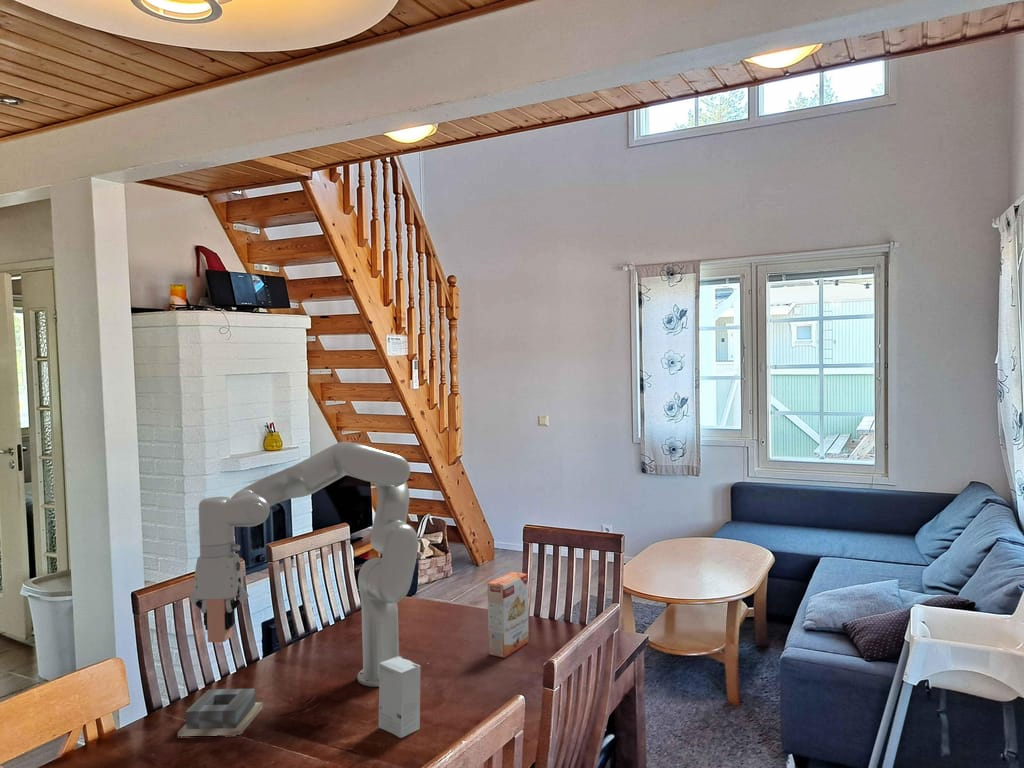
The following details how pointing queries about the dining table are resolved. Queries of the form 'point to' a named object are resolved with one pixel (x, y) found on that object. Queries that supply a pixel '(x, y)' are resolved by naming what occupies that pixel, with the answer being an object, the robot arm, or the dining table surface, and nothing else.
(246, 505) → the robot arm
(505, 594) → the cracker box
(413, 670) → the skincare box
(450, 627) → the dining table surface
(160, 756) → the dining table surface
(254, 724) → the dining table surface
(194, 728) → the socket block
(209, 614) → the peg
